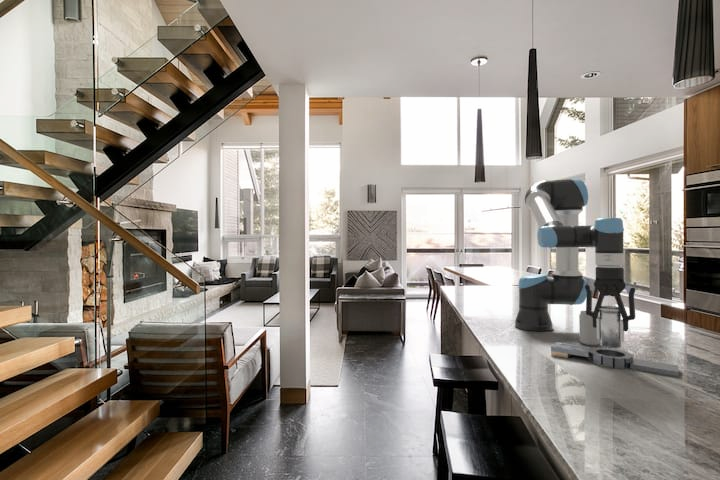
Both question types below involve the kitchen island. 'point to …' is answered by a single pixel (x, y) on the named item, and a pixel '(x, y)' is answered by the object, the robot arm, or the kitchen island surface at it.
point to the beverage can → (587, 330)
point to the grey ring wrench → (613, 358)
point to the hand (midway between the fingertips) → (610, 339)
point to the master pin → (610, 326)
